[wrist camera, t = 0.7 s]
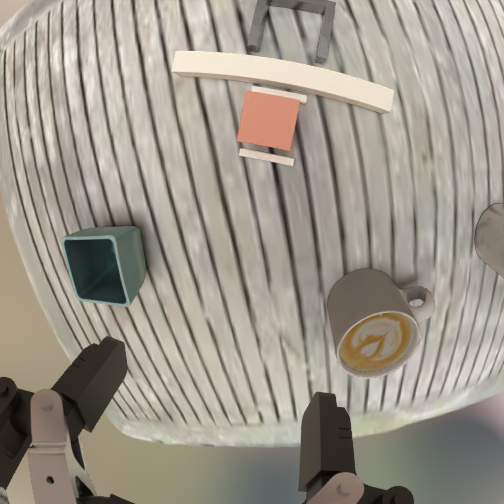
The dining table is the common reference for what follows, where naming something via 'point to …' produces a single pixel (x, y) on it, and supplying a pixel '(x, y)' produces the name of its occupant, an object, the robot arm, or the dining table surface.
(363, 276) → the coffee mug
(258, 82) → the strip
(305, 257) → the dining table surface
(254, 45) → the keeper bracket
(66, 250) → the flower pot
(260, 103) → the block
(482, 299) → the dining table surface
